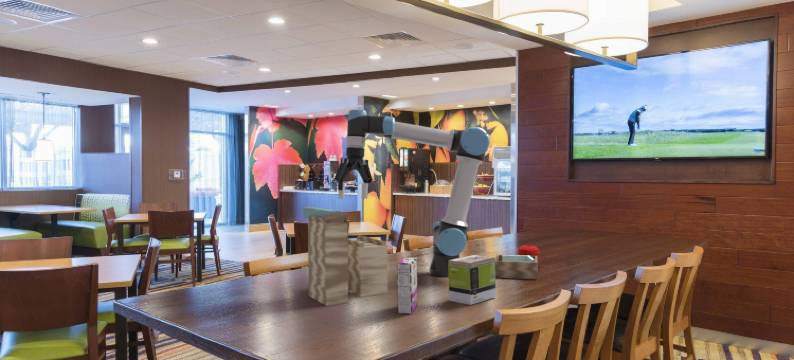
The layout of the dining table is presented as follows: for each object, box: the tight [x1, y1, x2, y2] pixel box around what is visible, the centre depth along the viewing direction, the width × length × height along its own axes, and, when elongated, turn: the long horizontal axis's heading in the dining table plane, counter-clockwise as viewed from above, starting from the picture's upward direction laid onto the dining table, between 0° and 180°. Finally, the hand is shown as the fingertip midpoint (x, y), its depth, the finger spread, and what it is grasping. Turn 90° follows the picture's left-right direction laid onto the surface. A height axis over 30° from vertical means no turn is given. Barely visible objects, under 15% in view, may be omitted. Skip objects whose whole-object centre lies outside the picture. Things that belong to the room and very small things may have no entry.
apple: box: [517, 243, 541, 260], centre depth 253 cm, size 10×10×11 cm
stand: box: [307, 213, 349, 307], centre depth 191 cm, size 17×8×31 cm, turn 30°
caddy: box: [494, 254, 539, 280], centre depth 235 cm, size 18×18×7 cm
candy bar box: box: [396, 257, 418, 315], centre depth 177 cm, size 11×5×16 cm, turn 168°
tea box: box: [448, 254, 497, 306], centre depth 190 cm, size 15×10×15 cm, turn 134°
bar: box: [301, 206, 341, 220], centre depth 197 cm, size 27×4×4 cm, turn 30°
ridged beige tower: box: [348, 234, 388, 298], centre depth 207 cm, size 22×11×20 cm, turn 30°
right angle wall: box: [501, 254, 535, 262], centre depth 235 cm, size 12×12×8 cm
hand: (353, 198), depth 223 cm, fingers open, 13 cm apart
